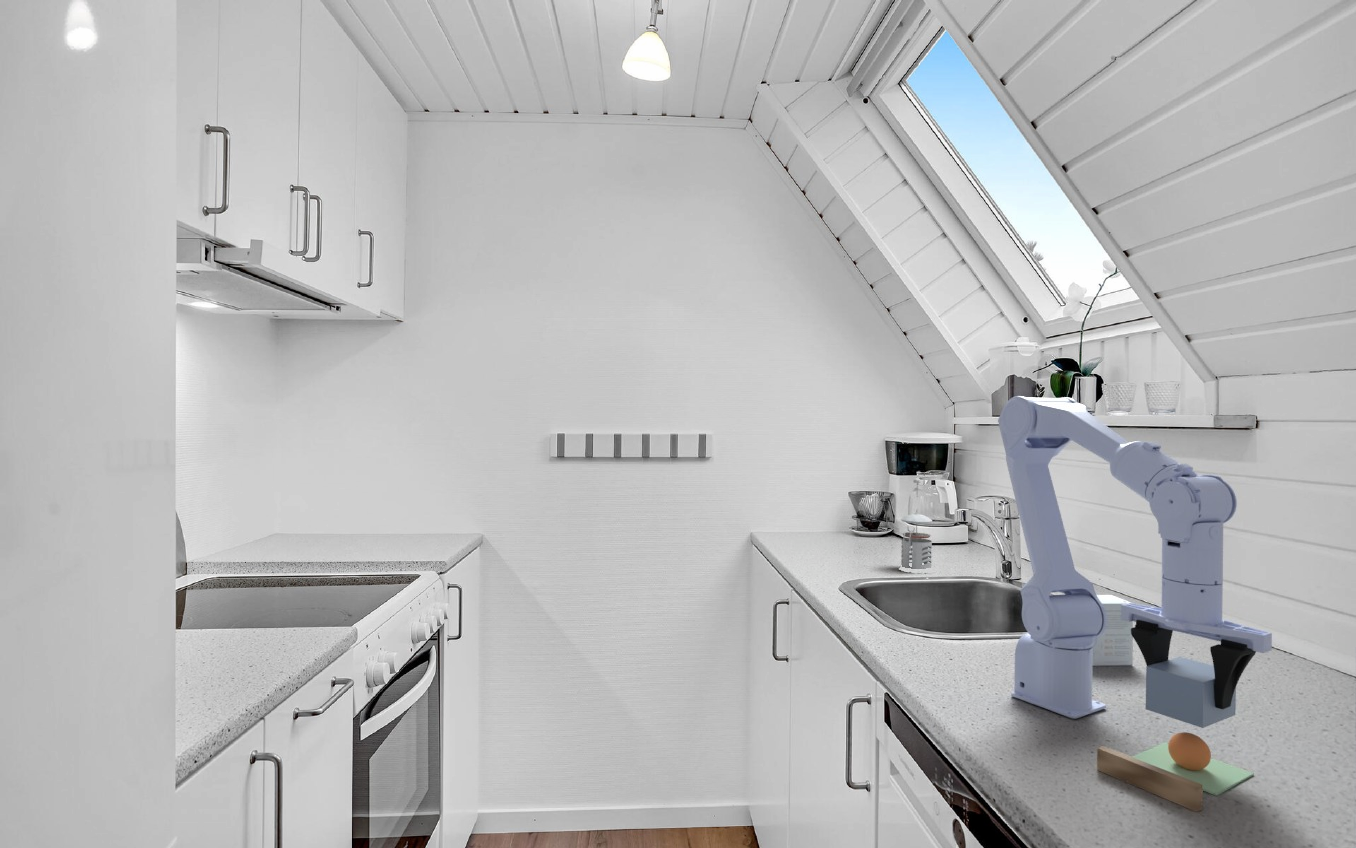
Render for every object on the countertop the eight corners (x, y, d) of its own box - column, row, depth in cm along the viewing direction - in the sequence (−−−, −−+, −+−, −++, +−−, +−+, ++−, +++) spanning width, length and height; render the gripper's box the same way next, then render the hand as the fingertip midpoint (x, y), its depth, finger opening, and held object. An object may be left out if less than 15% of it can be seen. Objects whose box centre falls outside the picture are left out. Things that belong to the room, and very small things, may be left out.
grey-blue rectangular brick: (1145, 709, 82) (1146, 666, 82) (1178, 697, 86) (1179, 656, 86) (1202, 728, 77) (1203, 682, 77) (1235, 715, 81) (1236, 671, 81)
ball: (1168, 721, 83) (1181, 735, 84) (1158, 754, 81) (1171, 767, 83) (1207, 734, 79) (1220, 748, 81) (1198, 768, 78) (1211, 782, 80)
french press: (940, 570, 191) (941, 478, 191) (924, 577, 182) (925, 480, 182) (905, 565, 197) (906, 476, 197) (888, 571, 189) (889, 478, 189)
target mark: (1127, 760, 83) (1127, 758, 83) (1166, 743, 88) (1166, 742, 88) (1216, 795, 75) (1216, 793, 75) (1253, 775, 80) (1253, 773, 80)
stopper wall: (1097, 769, 81) (1097, 748, 81) (1102, 767, 81) (1103, 745, 81) (1196, 812, 72) (1196, 787, 72) (1202, 808, 73) (1202, 784, 73)
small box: (1111, 655, 121) (1112, 594, 121) (1133, 666, 116) (1134, 602, 116) (1066, 655, 121) (1066, 594, 121) (1086, 666, 116) (1086, 602, 116)
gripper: (1107, 571, 86) (1106, 682, 86) (1251, 597, 73) (1250, 728, 73) (1138, 566, 89) (1137, 673, 89) (1280, 590, 77) (1279, 714, 77)
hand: (1190, 697), depth 81 cm, fingers closed on grey-blue rectangular brick, 6 cm apart
